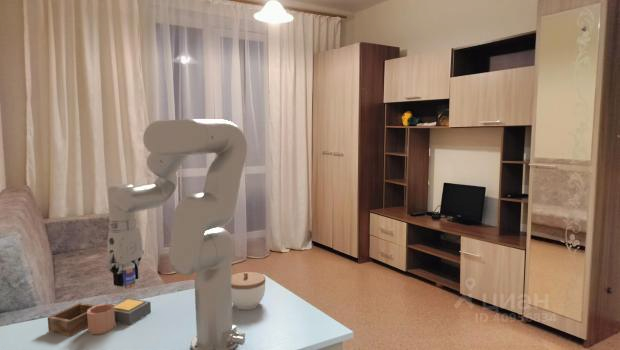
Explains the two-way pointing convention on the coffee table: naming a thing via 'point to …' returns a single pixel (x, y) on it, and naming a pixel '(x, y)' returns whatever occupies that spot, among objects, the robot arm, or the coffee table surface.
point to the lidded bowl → (247, 289)
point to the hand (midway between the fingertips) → (126, 281)
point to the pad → (128, 305)
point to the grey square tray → (132, 313)
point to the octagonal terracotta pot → (101, 318)
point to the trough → (70, 320)
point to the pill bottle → (128, 276)
